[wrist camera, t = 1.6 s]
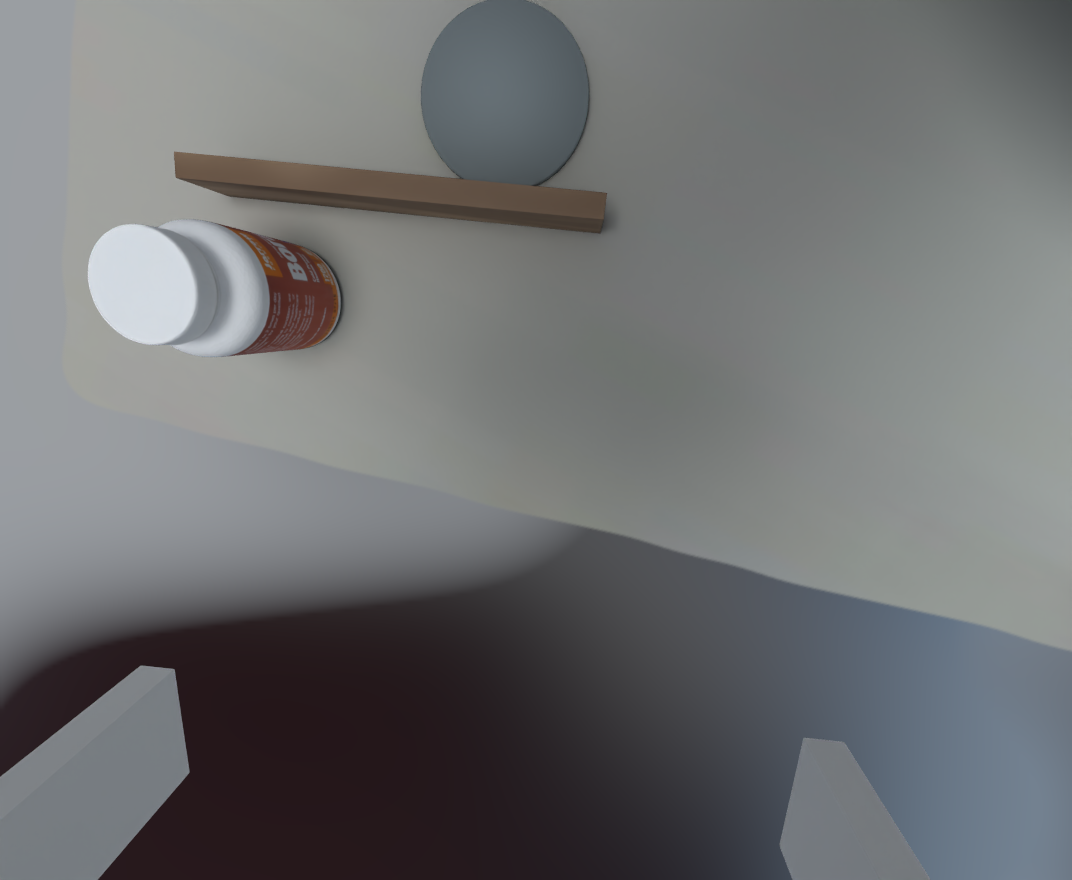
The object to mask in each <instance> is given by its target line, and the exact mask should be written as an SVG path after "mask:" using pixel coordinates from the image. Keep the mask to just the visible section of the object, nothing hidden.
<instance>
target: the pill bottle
mask: <svg viewBox="0 0 1072 880" xmlns="http://www.w3.org/2000/svg"><path fill="white" fill-rule="evenodd" d="M88 282H89V288H90V292H91V295H92V298H93V300H94V303H95V305H96V307H97V309H98V311H99V312H100V314H101V315H102V317H103V318H104V319H105V320H106V321H107V323H108V324H109V325H110V326H111V327H112V328H113V329H115V330H116V331H117V332H118V333H120V334H121V335H123V336H124V337H126V338H128V339H130V340H133V341H135V342H138V343H141V344H147V345H171V346H172V347H174V348H176V349H178V350H180V351H182V352H185V353H188V354H191V355H195V356H202V357H225V356H235V355H245V354H255V353H264V352H275V351H285V350H296V349H303V348H308V347H311V346H314V345H316V344H318V343H320V342H321V341H323V340H324V339H325V338H327V337H328V336H329V335H330V333H331V332H332V331H333V329H334V328H335V326H336V324H337V321H338V318H339V315H340V309H341V297H340V291H339V287H338V284H337V281H336V278H335V276H334V274H333V273H332V271H331V269H330V268H329V267H328V265H327V264H326V263H325V262H324V261H323V260H322V259H321V258H320V257H319V256H318V255H316V254H315V253H314V252H312V251H310V250H308V249H306V248H304V247H302V246H299V245H296V244H292V243H289V242H285V241H281V240H277V239H274V238H270V237H266V236H262V235H258V234H255V233H251V232H248V231H243V230H240V229H236V228H232V227H228V226H225V225H221V224H217V223H213V222H208V221H203V220H196V219H184V220H175V221H171V222H167V223H165V224H163V225H161V226H159V227H153V226H147V225H141V224H125V225H121V226H118V227H115V228H113V229H111V230H109V231H108V232H106V233H105V234H104V235H103V236H102V237H101V238H100V239H99V240H98V241H97V243H96V244H95V246H94V248H93V250H92V252H91V256H90V259H89V263H88Z"/></svg>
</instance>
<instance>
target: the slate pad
mask: <svg viewBox="0 0 1072 880" xmlns="http://www.w3.org/2000/svg"><path fill="white" fill-rule="evenodd" d="M588 98H589V88H588V77H587V71H586V66H585V63H584V60H583V56H582V54H581V51H580V49H579V47H578V45H577V43H576V41H575V39H574V38H573V36H572V34H571V33H570V32H569V30H568V29H567V28H566V27H565V25H564V24H563V23H562V22H561V21H560V20H559V19H558V18H557V17H556V16H555V15H553V14H552V13H550V12H549V11H548V10H546V9H545V8H543V7H541V6H539V5H537V4H535V3H532V2H529V1H526V0H487V1H484V2H480V3H478V4H476V5H473V6H471V7H469V8H467V9H466V10H465V11H463V12H462V13H460V14H459V15H457V16H456V17H455V18H454V19H453V20H452V21H451V22H450V23H449V24H448V25H447V26H446V27H445V29H444V30H443V31H442V32H441V33H440V35H439V37H438V38H437V40H436V41H435V43H434V45H433V47H432V49H431V51H430V53H429V56H428V59H427V62H426V64H425V68H424V73H423V77H422V86H421V106H422V114H423V119H424V123H425V127H426V130H427V132H428V135H429V138H430V140H431V142H432V144H433V146H434V148H435V150H436V151H437V152H438V154H439V155H440V157H441V158H442V160H443V161H444V162H445V163H446V164H447V165H448V167H449V168H450V169H451V170H452V171H453V172H454V173H455V174H457V175H458V176H459V177H460V178H462V179H466V180H476V181H487V182H497V183H508V184H518V185H529V186H537V185H539V184H541V183H543V182H544V181H546V180H548V179H549V178H550V177H551V176H553V175H554V174H555V173H557V172H558V171H559V169H560V168H561V167H562V166H563V165H564V164H565V163H566V162H567V160H568V159H569V158H570V156H571V155H572V153H573V152H574V150H575V148H576V146H577V145H578V142H579V140H580V138H581V135H582V133H583V129H584V126H585V123H586V117H587V112H588Z"/></svg>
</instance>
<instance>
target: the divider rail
mask: <svg viewBox="0 0 1072 880" xmlns="http://www.w3.org/2000/svg"><path fill="white" fill-rule="evenodd" d="M174 159H175V174H176V178H178V179H181V180H184V181H187V182H190V183H193V184H195V185H198V186H201V187H204V188H207V189H210V190H212V191H215V192H218V193H221V194H224V195H227V196H230V197H240V198H250V199H260V200H270V201H281V202H291V203H301V204H311V205H321V206H331V207H341V208H351V209H361V210H371V211H381V212H391V213H401V214H411V215H421V216H431V217H441V218H451V219H461V220H471V221H481V222H491V223H501V224H511V225H521V226H531V227H541V228H551V229H561V230H571V231H581V232H591V233H600V232H601V228H602V224H603V220H604V212H605V205H606V197H607V193H602V192H592V191H581V190H571V189H560V188H550V187H539V186H529V185H518V184H508V183H497V182H487V181H476V180H466V179H455V178H445V177H434V176H424V175H413V174H403V173H392V172H382V171H371V170H361V169H350V168H340V167H329V166H319V165H308V164H298V163H287V162H277V161H266V160H256V159H245V158H235V157H224V156H214V155H203V154H193V153H182V152H174Z"/></svg>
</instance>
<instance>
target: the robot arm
mask: <svg viewBox="0 0 1072 880" xmlns="http://www.w3.org/2000/svg"><path fill="white" fill-rule="evenodd" d="M188 774H189V766H188V760H187V753H186V746H185V740H184V732H183V725H182V719H181V712H180V705H179V698H178V691H177V684H176V677H175V670H174V669H167V668H158V667H149V666H140V667H139V668H137V669H136V670H135V671H134V672H132V673H131V674H130V675H128V676H127V677H126V678H125V679H123V680H122V681H121V682H120V683H118V684H117V685H116V686H115V687H113V688H112V689H111V690H110V691H108V692H107V693H106V694H104V695H103V696H102V697H101V698H99V699H98V700H97V701H96V702H94V703H93V704H92V705H91V706H89V707H88V708H87V709H86V710H84V711H83V712H82V713H80V714H79V715H78V716H77V717H75V718H74V719H73V720H72V721H70V722H69V723H68V724H67V725H66V726H64V727H63V728H62V729H60V730H59V731H58V732H56V733H55V734H54V735H53V736H52V737H50V738H49V739H48V740H46V741H45V742H44V743H43V744H42V745H40V746H39V747H38V748H36V749H35V750H34V751H33V752H31V753H30V754H29V755H27V756H26V757H25V758H24V759H22V760H21V761H20V762H19V763H17V764H16V765H15V766H14V767H12V768H11V769H10V770H9V771H8V772H6V773H5V774H4V775H2V776H1V777H0V880H97V879H98V878H99V877H100V876H101V875H102V874H103V873H104V871H105V870H106V869H107V868H108V867H109V866H110V864H111V863H112V862H113V861H114V860H115V859H116V857H117V856H118V855H119V854H120V853H121V852H122V850H123V849H124V848H125V847H126V846H127V845H128V843H129V842H130V841H131V840H132V839H133V838H134V836H135V835H136V834H137V833H138V832H139V831H140V829H141V828H142V827H143V826H144V825H145V824H146V822H147V821H148V820H149V819H150V818H151V817H152V815H153V814H154V813H155V812H156V811H157V810H158V808H159V807H160V806H161V805H162V804H163V803H164V801H165V800H166V799H167V798H168V797H169V795H170V794H171V793H172V792H173V791H174V790H175V789H176V787H177V786H178V785H179V784H180V783H181V782H182V780H183V779H184V778H185V777H186V776H187V775H188ZM780 848H781V850H782V853H783V855H784V858H785V861H786V863H787V866H788V868H789V871H790V874H791V876H792V879H793V880H930V878H929V877H928V875H927V873H926V872H925V870H924V869H923V867H922V866H921V864H920V862H919V861H918V859H917V858H916V856H915V855H914V853H913V851H912V850H911V848H910V847H909V845H908V843H907V842H906V840H905V838H904V837H903V835H902V834H901V832H900V831H899V829H898V827H897V826H896V824H895V822H894V821H893V819H892V818H891V816H890V815H889V813H888V811H887V810H886V808H885V807H884V805H883V803H882V802H881V800H880V799H879V797H878V795H877V794H876V792H875V791H874V789H873V787H872V786H871V784H870V783H869V781H868V780H867V778H866V776H865V775H864V773H863V772H862V770H861V768H860V767H859V765H858V764H857V762H856V760H855V759H854V757H853V756H852V754H851V753H850V751H849V749H848V748H847V746H846V744H845V743H844V742H838V741H829V740H820V739H811V738H804V739H803V743H802V748H801V752H800V757H799V762H798V766H797V770H796V775H795V779H794V783H793V788H792V792H791V797H790V802H789V806H788V811H787V815H786V819H785V824H784V828H783V832H782V837H781V841H780Z"/></svg>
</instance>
